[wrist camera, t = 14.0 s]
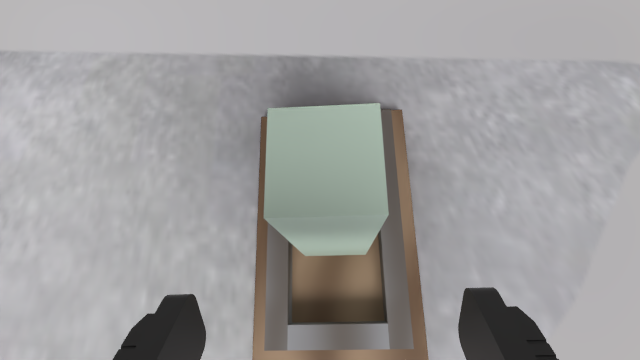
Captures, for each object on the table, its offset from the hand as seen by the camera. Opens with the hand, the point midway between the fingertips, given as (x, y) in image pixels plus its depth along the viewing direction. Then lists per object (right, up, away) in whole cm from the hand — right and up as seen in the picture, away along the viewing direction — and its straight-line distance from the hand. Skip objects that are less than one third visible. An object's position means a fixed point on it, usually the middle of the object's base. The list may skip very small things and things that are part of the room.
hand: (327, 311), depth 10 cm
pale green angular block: (+1, 0, +16) cm, 16 cm away
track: (+1, 0, +17) cm, 17 cm away
